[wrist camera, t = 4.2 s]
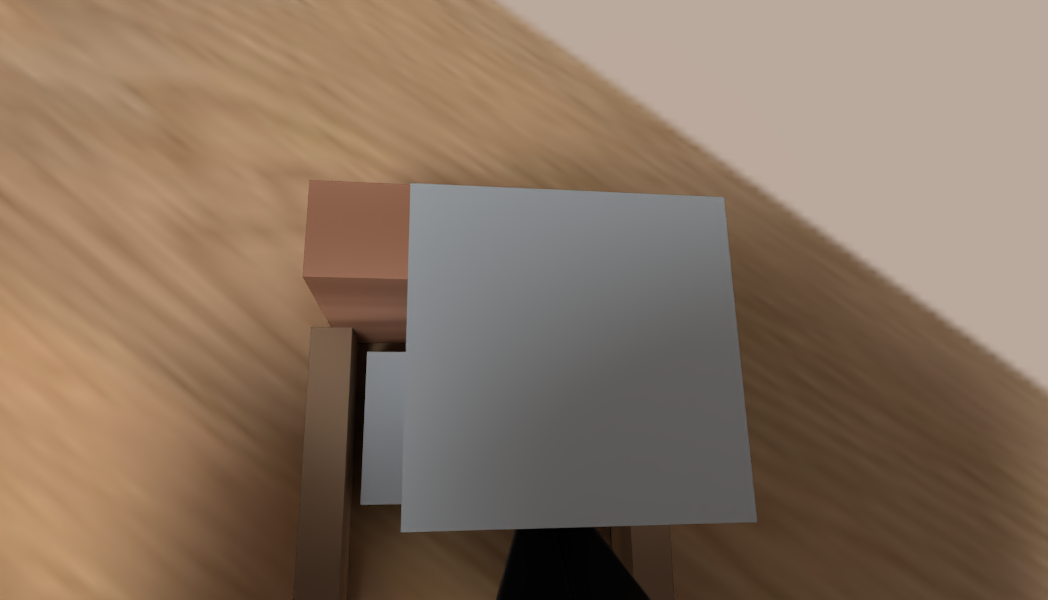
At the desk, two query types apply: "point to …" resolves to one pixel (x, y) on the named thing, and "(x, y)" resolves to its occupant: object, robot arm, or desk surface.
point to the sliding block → (561, 365)
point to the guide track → (356, 317)
